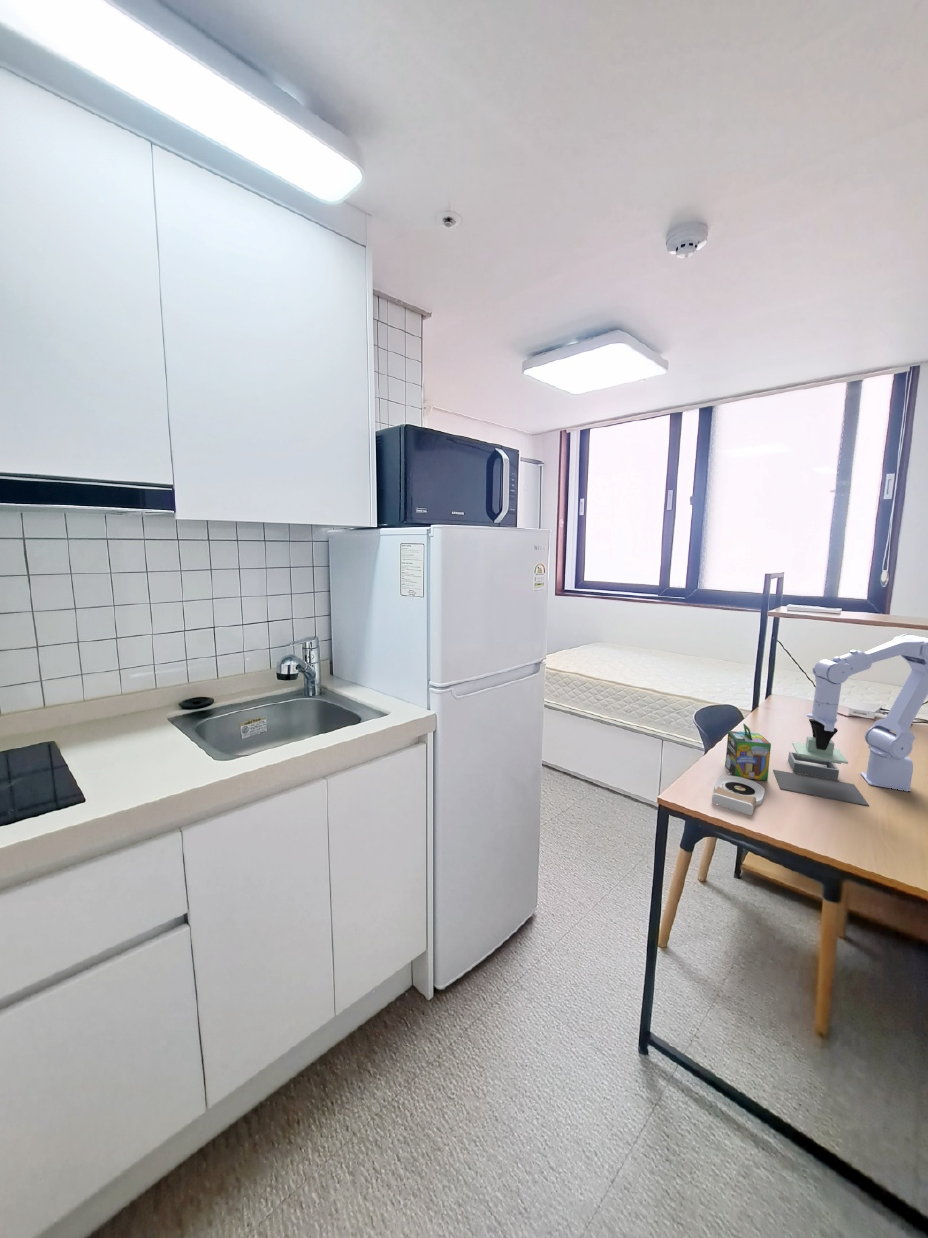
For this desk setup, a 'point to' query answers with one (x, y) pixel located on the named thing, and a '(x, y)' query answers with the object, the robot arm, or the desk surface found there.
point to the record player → (737, 793)
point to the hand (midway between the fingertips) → (819, 746)
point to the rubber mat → (819, 787)
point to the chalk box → (748, 755)
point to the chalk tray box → (813, 767)
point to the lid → (819, 751)
